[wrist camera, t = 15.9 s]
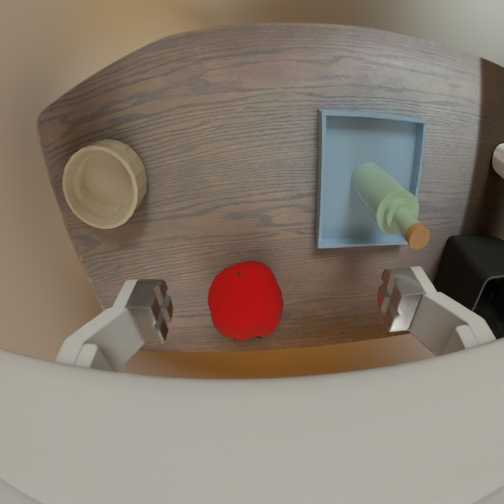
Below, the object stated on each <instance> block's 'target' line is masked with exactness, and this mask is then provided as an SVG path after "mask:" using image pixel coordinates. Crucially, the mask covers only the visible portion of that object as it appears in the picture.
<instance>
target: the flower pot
mask: <svg viewBox="0 0 504 504" xmlns="http://www.w3.org/2000/svg"><path fill="white" fill-rule="evenodd" d="M434 288H435V289H436V291H437V292H442V293H443V294H445V295H446V296H448V297H450V298H451V299H453V300H455V301H456V302H458V303H460V304H461V305H463V306H464V307H466V308H467V309H469V310H471V311H472V312H474V313H475V314H477V315H479V316H480V317H482V318H483V319H484V320H485V321H486V323H487V325H488V326H489V328H490V330H491V331H492V333H493V335H494V336H495V338H496V340H497V339H500V338H503V337H504V241H503V240H501V239H499V238H496V237H494V236H491V235H463V236H451V237H450V238H449V239H448V241H447V245H446V248H445V251H444V255H443V258H442V261H441V264H440V267H439V270H438V273H437V276H436V279H435V281H434Z"/></svg>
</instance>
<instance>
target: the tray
mask: <svg viewBox="0 0 504 504" xmlns="http://www.w3.org/2000/svg"><path fill="white" fill-rule="evenodd" d="M426 130H427V120H425V119H422V118H420V117H414V116H407V115H399V114H390V113H380V112H369V111H355V110H335V109H318V184H317V213H316V234H315V241H316V244H317V247H318V248H340V247H362V246H384V245H406V244H408V243H407V241H406V239H405V238H404V237H403V235H402V234H401V233H400V234H395V235H393V234H388V233H385V232H384V231H382V230H381V229H380V227H379V226H378V224H377V223H376V222H375V220H374V219H373V217H372V216H371V214H370V213H369V212H368V210H367V209H366V207H365V206H364V205H363V203H362V202H361V201H360V199H359V198H358V196H357V195H356V194H355V192H354V191H353V189H352V185H351V179H352V175H353V173H354V171H355V170H356V169H357V168H358V167H359V166H360V165H362V164H364V163H369V162H372V163H377V164H379V165H380V166H381V167H383V168H384V169H385V170H386V171H387V172H389V173H390V174H391V175H392V176H393V177H394V178H395V179H397V180H398V181H399V182H400V183H401V184H402V185H403V186H404V187H406V188H407V189H408V190H409V191H410V192H411V193H412V194H413V195H414V196H415V197H416V199H418V193H419V187H420V180H421V174H422V167H423V159H424V150H425V141H426Z"/></svg>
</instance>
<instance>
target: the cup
mask: <svg viewBox="0 0 504 504" xmlns="http://www.w3.org/2000/svg"><path fill="white" fill-rule="evenodd" d="M492 165H493V168H494V170H495V171H496V173H498V174H499V175H500V176H501V177H502V178H503V179H504V143H502V144H499V145H498V146H497V147H496V149H495V151H494V153H493V157H492Z"/></svg>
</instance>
